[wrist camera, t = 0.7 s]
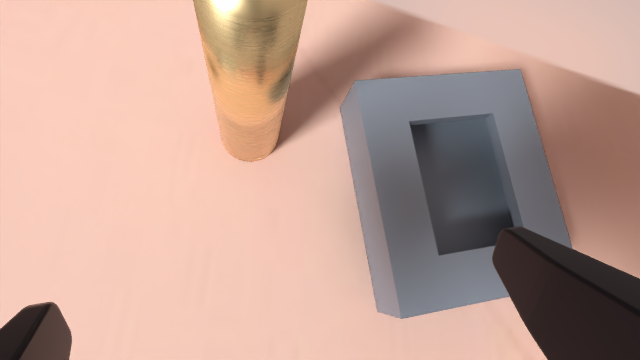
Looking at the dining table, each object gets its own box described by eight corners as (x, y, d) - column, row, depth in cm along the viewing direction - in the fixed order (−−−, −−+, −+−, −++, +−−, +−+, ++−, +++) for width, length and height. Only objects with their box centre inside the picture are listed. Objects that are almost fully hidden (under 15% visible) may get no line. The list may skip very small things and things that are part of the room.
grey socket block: (534, 280, 23) (582, 281, 20) (377, 311, 21) (401, 318, 18) (485, 95, 26) (520, 69, 22) (339, 107, 24) (354, 80, 20)
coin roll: (289, 134, 23) (337, -34, 10) (251, 172, 22) (254, 39, 9) (248, 98, 23) (247, -112, 10) (209, 135, 22) (156, -47, 9)
